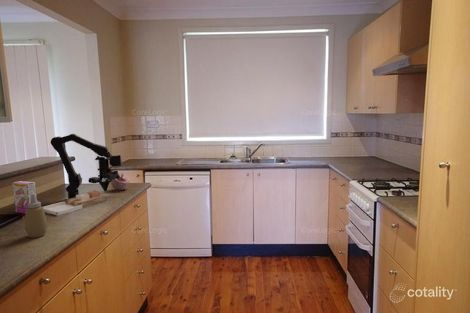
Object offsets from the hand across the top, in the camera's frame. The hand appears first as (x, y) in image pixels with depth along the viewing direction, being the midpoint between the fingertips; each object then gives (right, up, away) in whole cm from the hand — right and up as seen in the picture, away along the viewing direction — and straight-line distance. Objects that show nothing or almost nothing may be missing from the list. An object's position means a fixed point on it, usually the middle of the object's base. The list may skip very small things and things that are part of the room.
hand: (105, 191), depth 192 cm
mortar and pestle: (+2, -1, +20) cm, 20 cm away
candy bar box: (-30, -8, -28) cm, 42 cm away
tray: (-14, -7, -24) cm, 29 cm away
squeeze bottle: (-4, -12, -60) cm, 61 cm away
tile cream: (-8, -3, -13) cm, 16 cm away
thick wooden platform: (-6, -5, -11) cm, 14 cm away
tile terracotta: (-4, -2, -7) cm, 9 cm away
